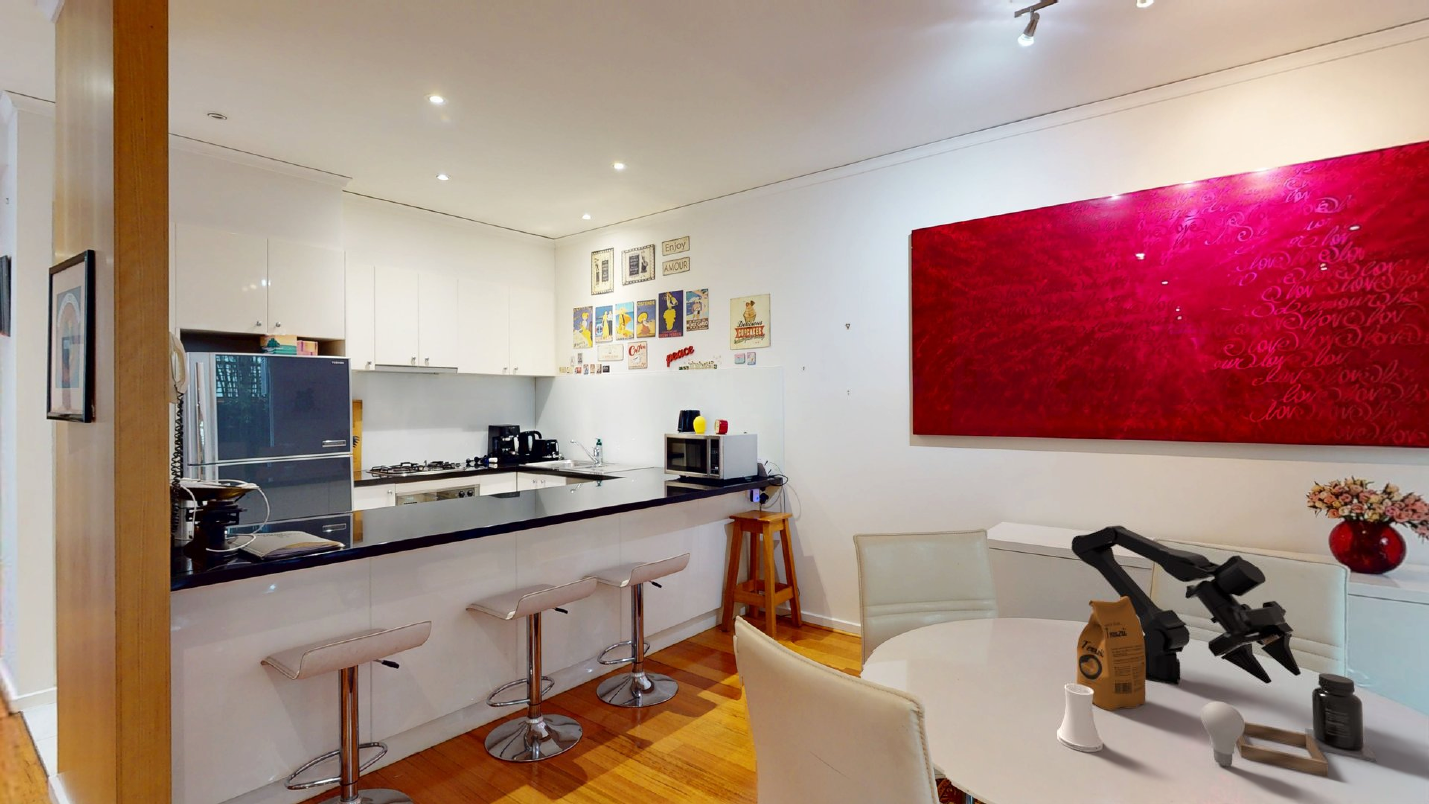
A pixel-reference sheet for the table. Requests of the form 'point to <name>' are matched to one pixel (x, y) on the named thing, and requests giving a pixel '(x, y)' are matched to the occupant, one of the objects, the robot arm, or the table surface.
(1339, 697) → the supplement bottle
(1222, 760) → the lightbulb
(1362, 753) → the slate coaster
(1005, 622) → the table surface
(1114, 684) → the coffee package
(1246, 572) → the robot arm
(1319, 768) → the wooden square frame
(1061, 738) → the vase
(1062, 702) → the table surface
